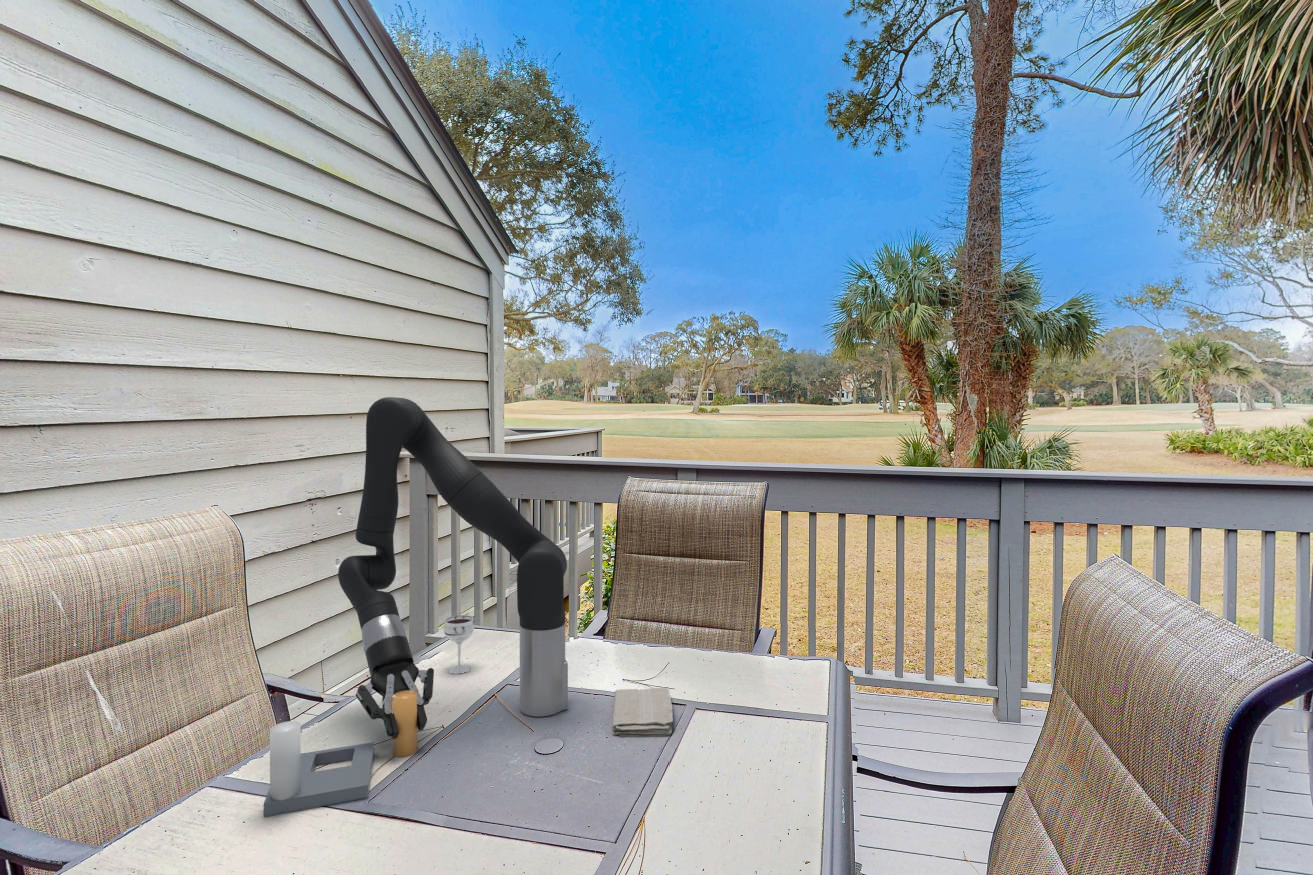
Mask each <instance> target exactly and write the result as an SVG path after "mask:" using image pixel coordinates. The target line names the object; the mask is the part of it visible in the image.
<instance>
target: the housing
mask: <svg viewBox="0 0 1313 875" xmlns="http://www.w3.org/2000/svg"><path fill="white" fill-rule="evenodd" d="M301 750H302V749H301V722H299V721H295V720H289V721H283V722H281V723H277V724H275V725H273V726H271V728H270V729H269V776H270V777H269V783H270V784H269V789H268V791H267V794H266V796H265V800H264V802H263V818H265V817H270V816H276V815H281V814H282V815H283V814H286V813H293V812H297V811H302V810H303V811H304V810H307V809H313V808H319V807H323V806H330V805H336V804H341V803H348V802H353V801H357V800H362V799H368V798H369V792H370V786H371V779H372V772H373V766H374V765H373V764H374V758H375V742H374V741H372V742H367V743H360V744H354V745H348V746H341V747H335V748H329V749H328V748H327V749H321V750H314V751H309V752H308V751H307V752H302V751H301ZM301 752H302V753H301ZM347 761H351V764H350V765H345V766H340V767H334V768H328V769H323V770H316V766H322V765H327V764H333V763H334V764H335V763H339V762H347Z"/></svg>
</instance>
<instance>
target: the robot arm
mask: <svg viewBox="0 0 1313 875" xmlns="http://www.w3.org/2000/svg"><path fill="white" fill-rule="evenodd" d="M365 443H366V444H365V464H364V466H365V468H364V480H363V489H362V495H361V496H362V497H361V503H360V508H359V514H358V518H357V525H356V529H355V539H356V541H357V543H359V544H360V545H365V546H370V547H375V554H371V555H370V554H367V555H366V554H365V555H361V554H360V555H359V554H358V555H350V556H348V557H345V559H343V560H342V561H341V563H340V565H339V567H338V572H337V576H338V577H337V578H338V582H339V586H340V588H341V590H342V591H343V592H344V594H345V596H346V597H347V599H348V600H349V603H350V604H351V605H352V607H353V609H354V610H355V612H356V615H357V616H358V617H357V618H358V623H359V627H360V630H361V639H362V646H363V647H362V649H363V651H364V653H365V658H366V662H367V666H368V670H369V671H368V672H369V676H370V681H369V682H368V683H366V684H360V685H359V686H358V688H357V690H356V693H355V697H356V698H357V700H358V702H359V703H360V704H361V706H362V708H363V709H364V711H365V712H366V713H367V715H368V716H369V718H370V719H371V720H376V719H380V720H382V721H383V725H384V729H385V734H386V735H387V737H388V738H389V737H391V738H390V739H391V740H393V739H395V738H397V736H398V734H399V732H398V728H397V724H396V720H395V716H394V713H393V695H394V694H396V693H398V692H401V691H407V690H411V691H415V692H417V732H421V731H423V730H424V729H425V727H426V725H427V723H428V717H427V714H426V708H425V706H427V705H428V704H430V702H431V699H432V698H433V692H434V680H435V678H434V677H435V676H434V673H435V670H434V668H433V667H430V668H429V667H428V669H427V670H425V669H419V668H418V667H417V665H415V663H414V658H413V654H412V651H411V648H410V647H411V646H410V643H409V640H408V636H407V632H406V630H405V629H406V628H405V627H404V623H403V622H402V619H401V617H400V612H399V610H398V606H397V602H396V599H395V597H394V595H392V594H391V593H390V592H388V591H384V590H385V589H387V588H389V587H390V586H391V585H392V584H393V583H394V581H395V578H396V574H397V566H396V565H397V564H396V558H395V550H394V548H395V545H394V533H395V527H396V522H397V516H398V512H399V511H398V510H399V488H398V487H399V486H398V466H399V459H400V455H401V451H402V449H404V450H405V451H407V452H408V453H409V454H410V455H411V456H413V457H414V458H415V459H416V461H418V462H419V463H420V464H421V466H422V467H423V469H424V470H425V471H426V473H427V474H428V476H429V478H430V480H431V482H432V483H433V485H434V487H435V489H436V490H437V492H438V493H439V496H441V498H442V499H443V500H444V501H445V503H447V505H449V507H450V509H452V510H454V512H455V513H456V514H458V516H459V517H461V518H462V520H463V521H465V522H466V523H468V524H469V525H470V526H472V527H473V528H474V529H476V530H478V531H479V532H481V533H482V534H485V535H486V536H488V537H490V538H491V539H493V540H495V541H496V542H498V543H499V544H500V545H501V546H503V548H505V549H506V551H507V552H508V553H509V554H510V555H511V556H512V557H513V558H514V560H515V561H516V562H517V563H518V565H517V569H516V570H517V571H516V596H517V597H516V598H517V600H516V606H517V613H518V618H519V710H520V712H521V713H522V714H524V715H526V716H529V717H537V718H538V717H547V716H548V717H549V716H552V715H556V714H558V713H560V712H562V711H566V710H568V709H569V707H568V706H569V705H568V704H569V702H568V701H569V697H568V696H569V686H568V685H569V672H568V671H569V663H568V661H567V659H566V609H565V598H564V596H565V594H564V589H565V588H564V587H565V586H564V584H565V583H564V580H565V578H564V576H565V574H566V572H567V568H568V562H567V557H566V555H565V553H564V551H563V550H562V549H561V547H559V545H557V544H556V543H555V542H554V541H552V540H551V539H550V538H548V537H547V536H546V535H545V534H543V533H542V531H540V530H538V529H537V528H536V527H535V526H534V525H533V524H532V523H530V521H528V519H526V518H525V517H524V515H522V513H521V512H520V511H519V510H518V509H517V508H516V506H515V505H514V504H513V503H512V502H511V501H510V500H509V499H508V497H507V496H505V495H504V494H503V492H502V491H501V490H500V489H499V487H497V486H496V484H495V483H493V482H492V480H490V479H489V477H487V475H486V474H484V472H482V471H481V469H479V468H478V467H477V466H476V465H475V464H474V463H473V462H472V461H471V460H470V459H469V458H467V457H466V456H465V455H464V454H463V453H462V452H461V451H460V450H459V449H458V448H456V447H455V446H454V445H453V444H452V443H451V442H449V440H447V438H446V437H445V436H444V435H443V434H442V432H441V431H440V430H439V429H438V427H436V425H435V424H434V423H433V421H432V420H431V418H429V416H428V415H427V413H426V412H425V411H424V410H423V409H422V408H421V406H419V405H418V404H417V403H416V402H415V401H412V400H411V399H409V398H405V397H392V396H387V397H382V398H379V399H378V400H376V401H375V402H374V403H372V404H371V405H370V407H369V408H368V411H367V414H366V420H365ZM382 590H383V591H382ZM418 678H419V679H420V682H421V683H422V684H423V688H422V690H423V691H422V696H421V694H420V693H419V688H418V687H417V685H416V684H415V683H416V681H417V679H418ZM373 691H375V692H376V693H377V694H379V695H380V696H381V707H380V706H379V704H378V703H377V702H376V700H375V699H374V697H373V695H372V693H373Z"/></svg>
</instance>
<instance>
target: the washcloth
mask: <svg viewBox="0 0 1313 875" xmlns="http://www.w3.org/2000/svg"><path fill="white" fill-rule="evenodd" d="M613 697H614V698H613V700H614V701H613V704H612V706H613V709H612V710H613V711H612V713H613V714H612V721H611V728H612V736H614V737H615V736H620V737H663V736H664V737H665V736H670V735H671V734H672V732H673V723H674V717H673V716H674V713H673V705H672V698H671V693H670V688H669V687H651V688H642V689H638V688H636V689H635V688H633V689H632V688H625V689H622V688H621V689H616V690H615V691H614V695H613Z"/></svg>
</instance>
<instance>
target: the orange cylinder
mask: <svg viewBox="0 0 1313 875" xmlns="http://www.w3.org/2000/svg"><path fill="white" fill-rule="evenodd" d="M393 713H394V716H395V720H396V724H397V728H398V732H399V734H398V736H397V738H395V739H392V755H393V756H394V757H397V758H406V757H409V756H411V755H413V754H416V752H417V751H418V728H417V692H415V691H411V690H407V691H401V692H398V693H396V694H394V695H393V701H392V714H393Z"/></svg>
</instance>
